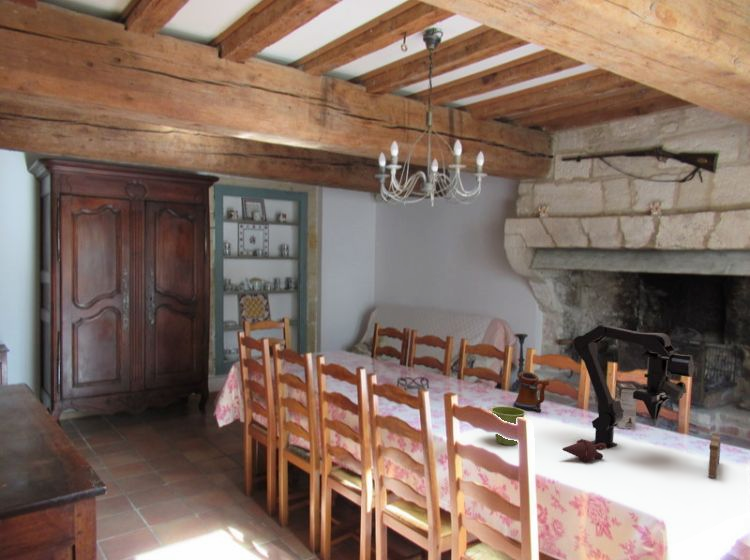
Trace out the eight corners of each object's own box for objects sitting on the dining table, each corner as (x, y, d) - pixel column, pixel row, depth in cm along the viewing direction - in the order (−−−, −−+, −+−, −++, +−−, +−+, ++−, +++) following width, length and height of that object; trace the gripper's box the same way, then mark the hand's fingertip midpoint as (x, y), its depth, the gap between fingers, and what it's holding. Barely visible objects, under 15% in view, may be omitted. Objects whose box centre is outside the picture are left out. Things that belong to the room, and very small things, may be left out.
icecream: (571, 446, 175) (613, 448, 178) (560, 433, 182) (601, 435, 185) (565, 465, 177) (607, 467, 180) (554, 451, 184) (595, 453, 187)
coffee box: (613, 421, 226) (615, 382, 225) (630, 423, 224) (632, 383, 224) (618, 428, 217) (620, 387, 216) (636, 430, 215) (638, 388, 215)
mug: (557, 414, 234) (559, 378, 233) (535, 416, 229) (537, 380, 228) (529, 403, 250) (530, 369, 250) (507, 405, 246) (509, 371, 245)
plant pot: (531, 444, 195) (533, 412, 194) (507, 450, 188) (508, 417, 188) (506, 434, 204) (507, 404, 204) (482, 439, 198) (483, 408, 198)
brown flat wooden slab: (710, 462, 182) (712, 433, 181) (718, 463, 181) (720, 434, 180) (707, 475, 170) (709, 444, 169) (716, 477, 169) (718, 446, 168)
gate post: (717, 464, 181) (719, 435, 180) (709, 462, 183) (711, 433, 182) (720, 463, 182) (722, 434, 182) (712, 461, 184) (714, 432, 184)
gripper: (668, 379, 172) (665, 429, 173) (695, 373, 184) (692, 420, 184) (633, 372, 181) (630, 420, 182) (661, 367, 192) (658, 412, 193)
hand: (654, 418), depth 185 cm, fingers closed
